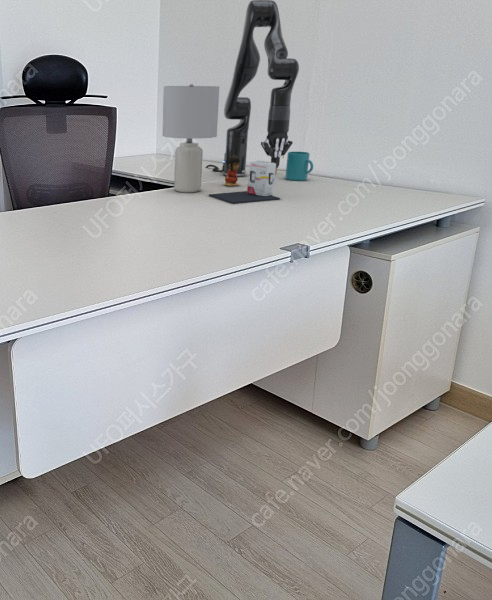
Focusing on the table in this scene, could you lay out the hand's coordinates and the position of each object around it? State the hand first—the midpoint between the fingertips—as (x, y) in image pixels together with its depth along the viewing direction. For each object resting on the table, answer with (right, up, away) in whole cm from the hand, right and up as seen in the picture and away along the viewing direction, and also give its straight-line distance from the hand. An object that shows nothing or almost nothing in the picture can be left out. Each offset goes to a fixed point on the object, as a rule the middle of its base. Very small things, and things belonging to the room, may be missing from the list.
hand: (274, 167), depth 218 cm
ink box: (-5, -10, +2) cm, 11 cm away
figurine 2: (+13, +9, +54) cm, 56 cm away
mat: (-11, -11, -1) cm, 16 cm away
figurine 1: (-12, -2, +23) cm, 26 cm away
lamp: (-31, -6, +12) cm, 34 cm away
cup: (+20, +3, +37) cm, 42 cm away
